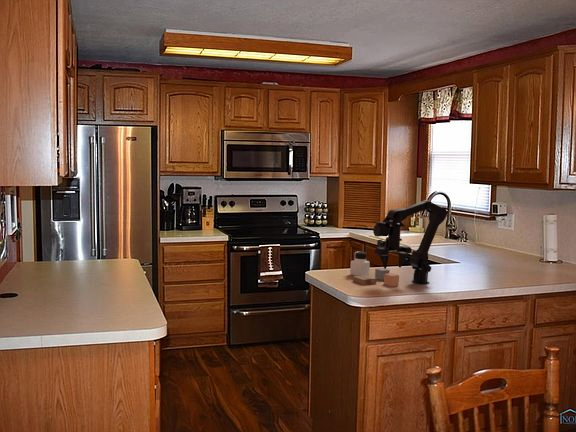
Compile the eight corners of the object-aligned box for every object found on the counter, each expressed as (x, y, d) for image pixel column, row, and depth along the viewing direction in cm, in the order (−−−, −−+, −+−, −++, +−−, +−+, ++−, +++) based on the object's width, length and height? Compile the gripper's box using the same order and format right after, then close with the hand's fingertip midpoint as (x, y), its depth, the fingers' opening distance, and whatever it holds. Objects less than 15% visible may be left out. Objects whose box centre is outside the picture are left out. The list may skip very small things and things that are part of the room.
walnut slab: (366, 281, 301) (366, 275, 301) (376, 284, 295) (376, 278, 294) (353, 282, 297) (353, 276, 297) (362, 285, 291) (363, 279, 290)
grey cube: (382, 277, 310) (383, 268, 309) (388, 279, 306) (389, 269, 305) (374, 278, 307) (375, 268, 307) (381, 280, 303) (381, 270, 302)
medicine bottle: (369, 275, 314) (370, 252, 313) (361, 276, 309) (362, 253, 308) (358, 272, 319) (359, 250, 318) (349, 274, 314) (351, 251, 313)
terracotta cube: (391, 283, 298) (392, 273, 297) (398, 285, 293) (399, 275, 293) (383, 284, 295) (384, 273, 294) (390, 286, 291) (391, 275, 290)
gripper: (398, 233, 303) (396, 263, 305) (368, 234, 294) (366, 266, 295) (413, 236, 294) (411, 267, 295) (383, 237, 284) (381, 270, 286)
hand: (392, 268), depth 293 cm, fingers open, 9 cm apart
